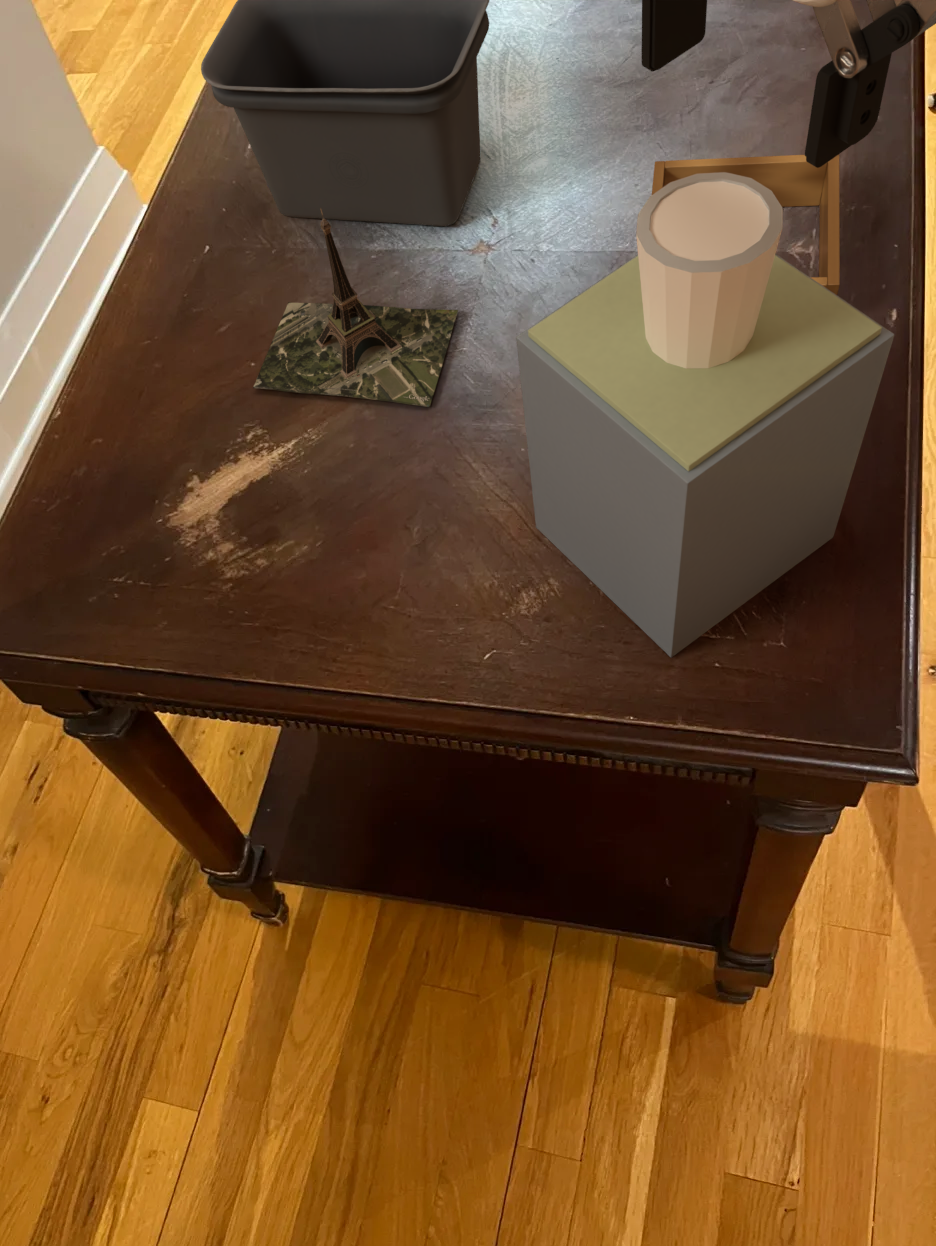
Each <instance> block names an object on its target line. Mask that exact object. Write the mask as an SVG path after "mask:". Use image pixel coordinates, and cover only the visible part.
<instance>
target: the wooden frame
mask: <svg viewBox="0 0 936 1246" xmlns="http://www.w3.org/2000/svg"><path fill="white" fill-rule="evenodd" d="M720 172H726V173H731V174H735V175H740V176H744V177H749V178H752V179H754V180H755V181H757V182H758V183H760V184H762V185H763V186H765V187H766V188H768V189H770V190H771V191H772V192H773V194H774V195H775V197H776V198H777V200H778V202H779V203H780V205H781V206H782V208H787V207H816V206H817V207H819V210H818V211H819V214H818V215H819V216H818V217H819V218H818V219H819V222H818V223H819V224H818V225H819V226H818V228H819V229H818V233H819V234H818V235H819V236H818V276H813V277H812V276H809V277H810V278H812V279H813V280H815V281H816V282H818V283H819V284H821V285H822V286H824V287H825V288H827V289H828V290H830V291H831V292H833V293H834V294H836V295H837V296H838V294H839V289H840V283H841V282H840V281H841V280H840V279H841V278H840V275H841V274H840V273H841V272H840V271H841V269H840V267H841V266H840V265H841V264H840V261H841V257H840V254H841V253H840V252H841V251H840V250H841V249H840V247H841V246H840V243H841V241H840V239H841V237H840V223H841V222H840V220H841V219H840V218H841V217H840V216H841V215H840V211H841V210H840V154H839V155H837V156H836V157H834V158H833V159H831V160H830V161H829V162H827V163H826V164H824V165H823V166H821V167H819V168H817V167H815V166H813V165H811V164H810V163H808V162H807V161H806V156H805V154H790V155H789V154H788V155H768V156H767V155H766V156H745V157H744V156H743V157H741V156H740V157H721V158H719V157H717V158H699V159H696V158H695V159H674V160H656V161H654V166H653V176H652V185H651V195H653V194H654V193H656V192H657V191H659V190H660V189H661V188H663V187H664V186H666V185H667V184H669V183H670V182H673V181H676V180H679V179H682V178H685V177H688V176H691V175H694V174H700V173H720Z"/></svg>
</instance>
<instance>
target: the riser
mask: <svg viewBox="0 0 936 1246" xmlns="http://www.w3.org/2000/svg"><path fill="white" fill-rule="evenodd" d="M775 255H776V256H777V257H779V258H780V259H782V260H783V261H785V262H786V263H788V264H789V265H791V266H792V267H794V268H795V269H797V270H798V271H800V272H801V273H803V274H804V275H805V276H807V277H808V278H810V277H811V276H809V275H808V274H806V273H805V272H803V271H801V270H800V269H798V268H797V267H796V266H795V265H793V264H791V263H790V262H788V261H787V260H786V259H784V258H782V257H781V256H780V255H778V254H777V253H776V254H775ZM637 256H638V254H636V255H635V256H633V257H632V258H630V259H629V260H627V261H626V262H625V263H622V265H620V266H619V267H616V269H614V270H613V271H611V272H610V273H608V274H607V275H605V276H604V277H602V278H601V279H599V280H598V281H596V282H595V283H594V284H592V285H591V286H589V287H588V288H586V289H585V290H583V291H581V292H580V293H578V294H577V295H575V296H574V297H573V298H571V299H570V300H568V301H567V302H565V303H564V304H562V305H561V306H560V307H558V308H557V309H555V310H554V311H552V312H551V313H549V314H547V316H545V317H544V318H542V319H540V320H539V321H537V322H536V323H535V324H533V325H531V326H530V327H529V328H527V329H526V330H524V331H523V332H521V333H520V334H518V335H517V336H516V337H515V340H516V341H515V342H516V343H515V344H516V351H517V359H518V361H517V362H518V369H519V379H520V388H521V398H522V399H521V400H522V408H523V417H524V427H525V435H526V446H527V454H528V465H529V475H530V483H531V492H532V502H533V511H534V520H535V521H534V522H535V528H536V529H537V531H539V532H540V533H541V534H543V536H544V537H545V538H546V539H547V540H548V541H550V543H552V544H553V545H554V546H555V547H556V549H558V550H559V551H560V552H561V553H562V554H563V555H564V556H565V557H566V558H567V559H568V560H569V561H570V562H571V563H572V564H573V565H574V566H576V568H577V569H579V570H580V571H581V573H582V574H584V575H585V576H586V577H587V578H588V579H589V580H590V581H591V582H592V583H593V584H594V585H595V586H596V587H597V588H598V589H599V590H600V591H601V592H602V593H603V594H605V596H607V598H609V600H611V601H612V602H613V603H614V604H615V605H616V606H617V607H618V608H619V609H620V610H621V611H622V612H623V614H625V615H626V616H627V617H628V618H629V619H630V620H631V621H632V622H633V623H634V624H635V625H637V626H638V628H639V629H641V631H643V633H645V634H646V635H647V636H648V637H649V638H650V639H651V640H652V641H653V642H654V643H655V644H656V645H657V646H658V647H659V648H660V649H661V650H662V651H663V652H665V654H667V656H669V657H670V658H673V657H674V656H676V655H677V654H678V653H680V652H681V651H682V650H684V649H685V648H686V647H688V646H689V645H690V644H692V643H693V642H695V641H696V640H698V638H700V637H701V636H703V635H704V634H705V633H707V632H708V631H709V630H711V629H712V628H713V627H715V626H716V625H717V624H719V623H720V622H721V621H723V620H724V619H725V618H727V617H728V616H730V615H731V614H733V612H735V611H736V610H738V609H739V608H740V607H742V606H743V605H744V604H745V603H748V601H750V600H751V599H752V598H754V597H755V596H757V595H758V594H759V593H760V592H762V591H763V590H764V589H766V588H767V587H769V586H770V585H771V584H772V583H774V582H775V581H777V579H779V578H781V577H782V576H783V575H785V574H786V573H788V571H791V569H793V568H794V567H795V566H796V565H798V564H799V563H801V562H803V561H804V560H805V559H806V558H807V557H809V556H811V554H813V553H814V552H816V551H817V550H818V549H819V548H821V547H822V546H823V545H825V544H826V543H828V542H829V541H831V540H832V539H833V538H834V536H835V533H836V529H837V527H838V524H839V520H840V516H841V513H842V510H843V506H844V503H845V501H846V500H845V499H846V496H847V493H848V489H849V487H850V483H851V480H852V476H853V473H854V470H855V467H856V463H857V460H858V456H859V454H860V451H861V447H862V444H863V441H864V438H865V435H866V431H867V427H868V423H869V421H870V418H871V413H872V411H873V409H874V408H873V407H874V404H875V401H876V398H877V395H878V391H879V389H880V388H879V387H880V384H881V381H882V379H883V374H884V371H885V367H886V364H887V361H888V358H889V355H890V351H891V348H892V344H893V341H894V338H895V333H893V332H892V331H891V330H889V329H887V328H886V327H884V326H883V325H881V324H880V323H879V322H877V321H875V320H874V319H873V318H871V317H869V316H868V315H867V314H865V313H863V312H862V311H861V310H859V309H858V308H856V307H855V306H853V305H852V304H851V303H849V302H847V301H846V300H845V299H843V298H842V297H840V296H839V295H838V294H837V295H836V294H834V293H833V292H831V291H830V290H828V289H827V288H825V287H824V286H822V285H821V284H819V283H818V282H816V281H815V280H813V279H812V278H810V279H811V280H813V281H814V282H816V283H817V284H819V285H820V286H822V287H823V288H825V289H826V290H828V291H829V292H831V293H832V294H834V295H835V296H836V297H838V298H839V299H841V300H842V301H844V302H845V303H847V304H848V305H850V306H851V307H853V308H854V309H856V310H857V311H859V312H860V313H862V314H863V315H865V316H866V317H868V318H869V319H870V320H872V321H873V322H875V323H876V324H878V325H879V326H881V327H882V329H881V333H880V335H878V336H877V337H875V338H874V339H873V340H871V341H870V342H868V343H867V344H866V345H864V346H863V347H862V348H860V349H859V350H857V351H856V352H855V353H853V354H852V355H850V356H849V357H848V358H846V359H845V360H843V361H842V362H841V363H839V364H838V365H836V366H835V367H834V368H832V369H831V370H829V371H828V372H827V373H825V374H824V375H822V376H821V377H820V378H818V379H817V380H816V381H814V382H813V383H811V384H810V385H809V386H807V387H806V388H804V389H803V390H802V391H800V392H799V393H797V394H796V395H795V396H793V397H792V398H790V399H789V400H788V401H786V402H785V403H783V404H782V405H781V406H779V407H778V408H777V409H775V410H774V411H772V412H771V413H770V414H768V415H767V416H765V417H764V418H763V419H761V420H760V421H758V422H757V423H756V424H754V425H753V426H751V427H750V428H749V429H747V430H746V431H744V432H743V433H742V434H740V435H739V436H737V437H736V438H735V439H733V440H732V441H731V442H729V443H728V444H726V445H725V446H724V447H722V448H721V449H719V450H718V451H717V452H715V453H714V454H712V455H711V456H710V457H708V458H707V459H705V460H704V461H703V462H701V463H700V464H698V465H697V466H696V467H694V468H693V469H692V470H690V471H687V470H686V469H685V468H684V467H682V466H681V465H680V464H679V463H678V462H677V461H675V460H674V459H673V458H672V457H671V456H669V455H668V454H667V453H666V452H665V451H664V450H662V449H661V448H660V447H659V446H658V445H656V444H655V443H654V442H653V441H652V440H650V439H649V438H648V437H647V436H646V435H645V434H643V433H642V432H641V431H640V430H639V429H637V428H636V427H635V426H634V425H633V424H631V423H630V422H629V421H628V420H627V419H626V418H624V417H623V416H622V415H621V414H620V413H618V412H617V411H616V410H615V409H614V408H613V407H611V406H610V405H609V404H608V403H607V402H605V401H604V400H603V399H602V398H601V397H599V396H598V395H597V394H596V393H595V392H594V391H592V390H591V389H590V388H589V387H588V386H586V385H585V384H584V383H583V382H582V381H581V380H579V379H578V378H577V377H576V376H575V375H573V374H572V373H571V372H570V371H569V370H567V369H566V368H565V367H564V366H563V365H562V364H560V363H559V362H558V361H557V360H556V359H554V358H553V357H552V356H551V355H550V354H548V353H547V352H546V351H545V350H544V349H543V348H541V347H540V346H539V345H538V344H537V343H535V342H534V341H533V340H532V339H531V338H530V337H529V336H528V330H529V329H531V328H532V327H534V326H535V325H537V324H538V323H540V322H541V321H542V320H544V319H545V318H547V317H548V316H550V315H551V314H553V313H554V312H556V311H557V310H559V309H560V308H562V307H563V306H565V305H566V304H568V303H569V302H570V301H572V300H573V299H575V298H576V297H578V296H579V295H581V294H582V293H584V292H585V291H587V290H588V289H590V288H591V287H593V286H594V285H595V284H597V283H598V282H600V281H601V280H603V279H604V278H606V277H607V276H609V275H610V274H612V273H613V272H615V271H616V270H618V269H619V268H621V267H622V266H623V265H625V264H626V263H628V262H629V261H631V260H632V259H634V258H635V257H637Z"/></svg>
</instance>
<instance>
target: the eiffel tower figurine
mask: <svg viewBox="0 0 936 1246" xmlns="http://www.w3.org/2000/svg"><path fill="white" fill-rule="evenodd" d="M320 210H321V208H320ZM321 213H322V210H321ZM322 217H323V213H322ZM319 225H320V228H321V230H322V231H323V232H322V233H323V236H324V240H325V245H326V250H327V255H328V260H329V266H330V271H331V276H332V277H331V278H332V285H333V292H332V293H331V296H332V297H333V303H325V302H323V303H320V302H292V301H291V302H287V304H286V307H285V309H284V312H283V314H282V316H281V319H280V322H279V324H278V326H277V329H276V331H275V334H274V336H273V338H272V341H271V343H270V345H269V348H268V350H267V353H266V355H265V358H264V360H263V363H262V365H261V367H260V370H259V372H258V375H257V376H256V379H255V381H254V384H253V387H252V389H260V390H270V391H271V390H273V391H278V392H279V391H280V392H287V393H296V394H297V393H298V394H306V395H307V394H309V395H320V396H321V395H322V396H335V397H346V398H356V399H365V400H375V401H382V402H391V403H397V404H403V405H411V406H418V407H427V408H429V407H431V404H432V400H433V397H434V394H435V391H436V388H437V384H438V381H439V378H440V374H441V371H442V367H443V364H444V360H445V357H446V354H447V351H448V347H449V343H450V339H451V336H452V332H453V328H454V325H455V322H456V318H457V315H458V313H459V309H437V308H436V309H434V308H433V309H432V308H408V307H407V308H406V307H397V306H385V305H384V306H382V305H371V304H363V303H362V302H361V301H360V300H359V299H358V293H357V292H356V291H355V290H354V289H353V288H352V286H351V283H350V280H349V278H348V276H347V273H346V271H345V267H344V266H343V262H342V260H341V257H340V255H339V252H338V248H337V246H336V243H335V239H334V237H333V234H332V231H331V229H332V226H331V224H330V222H329V221H328V219H324V217H323V219H321V221H320V222H319Z"/></svg>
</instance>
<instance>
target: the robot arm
mask: <svg viewBox="0 0 936 1246" xmlns="http://www.w3.org/2000/svg"><path fill="white" fill-rule="evenodd" d="M791 1H792V2H795V3H798V4H801V5H804V6H809V7H812V9H813V12H814V14H815V18H816V20H817V23H818V25H819V29H820V31H821V34H822V36H823V40H824V42H825V44H826V47H827V50H828V53H829V56H830V58H831V60H830V61H829V62H828V63H826V64H824V65H823V66H822V67H821V68H820V69H819V71H818V72H817V75H816V78H815V83H814V84H815V85H814V91H813V98H812V104H811V110H810V116H809V124H808V129H807V136H806V141H805V142H806V143H805V147H804V155H805V156H806V161H807V162H808V163H810V164H811V165H813V166H815V167H817V168H819V167H821V166H823V165H824V164H826V163H827V162H829V161H830V160H831V159H833V158H834V157H836V156H837V155H839V156H840V154H842V153H843V152H845V151H846V150H847V149H849V148H850V147H851V146H853V145H856V144H858V143H859V142H860V141H861V140H863V139H865V138H866V137H867V136H868V135H870V133H871V132H872V130H873V129H874V127H875V125H876V124H877V122H878V118H879V115H880V111H881V105H882V101H883V97H884V92H885V87H886V82H887V78H888V74H889V73H888V72H889V68H890V65H891V64H890V63H891V60H892V59H891V58H892V54H893V53H894V52H896V51H897V50H899V49H901V48H902V47H904V46H906V45H907V44H909V43H910V42H911V41H913V40H914V39H916V38H918V37H919V36H920V35H922V34H923V33H924V32H926V31H927V30H929V29H930V28H932V27H933V26H935V25H936V0H865V2H866V4H867V7H868V10H869V14H870V16H871V19H872V22H871V23H869V24H867V25H866V26H864V27H863V28H861V26H860V22H859V20H858V17H857V14H856V11H855V9H854V7H853V4H852V0H791ZM707 11H708V0H641V66H642V67H644V68H645V69H647V70H648V71H650V72H656V71H659V70H661V69H662V68H664V67H665V66H667V65H668V64H669V63H671V62H672V61H675V60H676V59H677V58H679V57H680V56H682V55H683V54H685V53H686V52H688V51H689V50H691V49H692V48H693V47H695V46H697V45H698V44H700V43H701V42H702V41H703V40H704V38H705V36H706V27H707Z"/></svg>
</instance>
